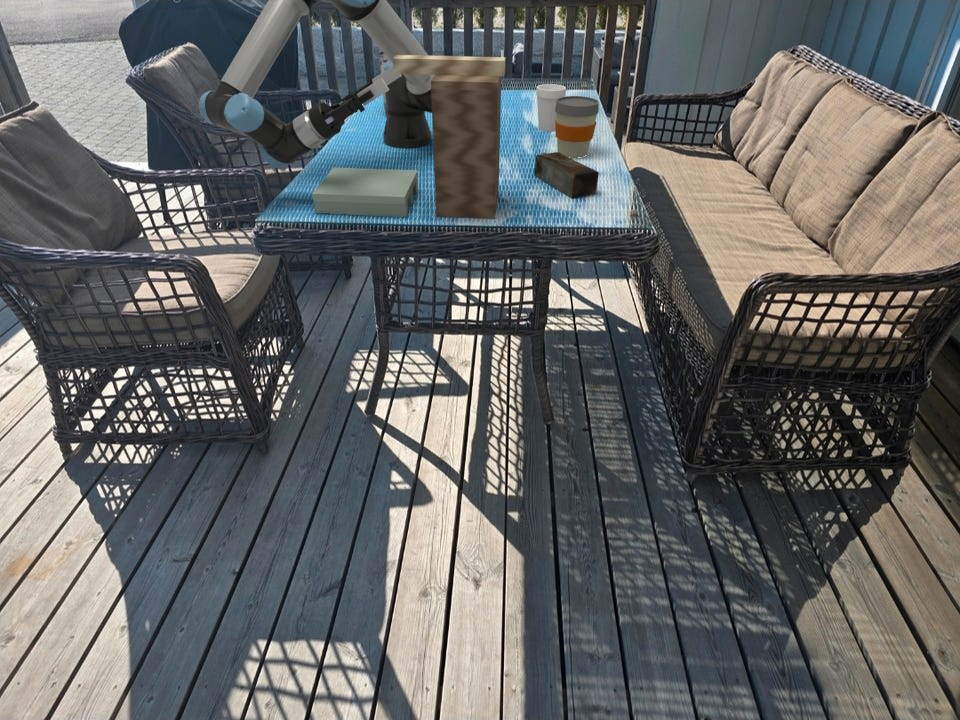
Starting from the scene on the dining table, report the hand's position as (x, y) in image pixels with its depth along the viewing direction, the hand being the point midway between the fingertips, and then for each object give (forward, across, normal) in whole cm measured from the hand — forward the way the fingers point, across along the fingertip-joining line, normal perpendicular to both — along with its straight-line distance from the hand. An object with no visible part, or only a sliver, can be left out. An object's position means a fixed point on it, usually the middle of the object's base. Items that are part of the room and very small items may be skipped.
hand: (392, 76), depth 131 cm
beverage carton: (+20, -17, -46) cm, 53 cm away
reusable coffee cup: (+23, -43, -48) cm, 68 cm away
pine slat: (+12, -1, -6) cm, 13 cm away
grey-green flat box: (-22, 0, -21) cm, 30 cm away
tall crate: (0, -1, -34) cm, 34 cm away
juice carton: (-29, -79, -17) cm, 86 cm away
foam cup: (+17, -68, -44) cm, 83 cm away
